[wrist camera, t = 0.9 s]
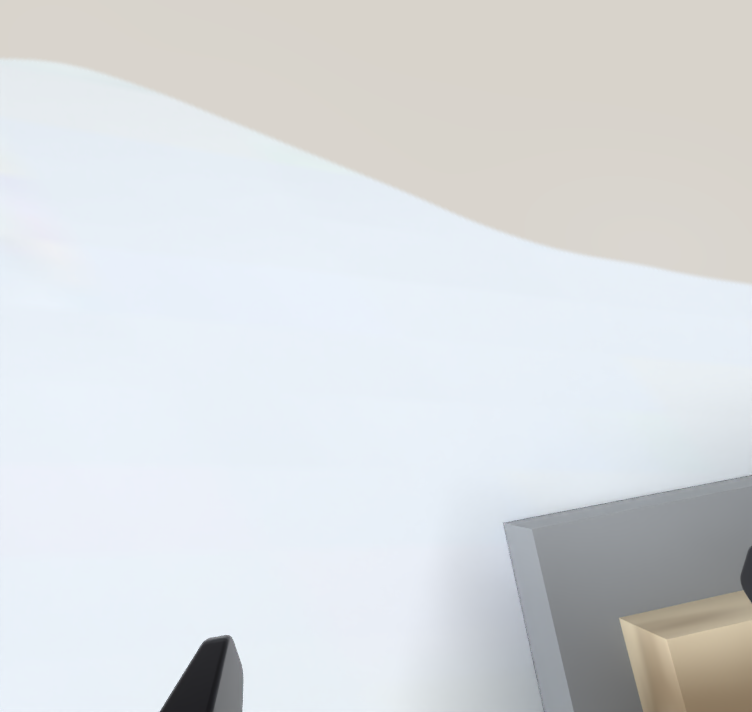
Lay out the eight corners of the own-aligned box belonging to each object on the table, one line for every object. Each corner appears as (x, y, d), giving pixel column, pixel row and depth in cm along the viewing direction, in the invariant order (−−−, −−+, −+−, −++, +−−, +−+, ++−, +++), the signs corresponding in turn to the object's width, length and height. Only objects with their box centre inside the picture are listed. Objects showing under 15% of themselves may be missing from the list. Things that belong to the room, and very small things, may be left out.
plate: (926, 782, 19) (1030, 835, 16) (581, 883, 18) (631, 961, 15) (810, 463, 22) (882, 460, 19) (503, 523, 20) (531, 529, 17)
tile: (824, 766, 16) (909, 815, 14) (668, 810, 16) (729, 868, 13) (765, 585, 18) (834, 600, 15) (618, 618, 17) (666, 639, 15)
